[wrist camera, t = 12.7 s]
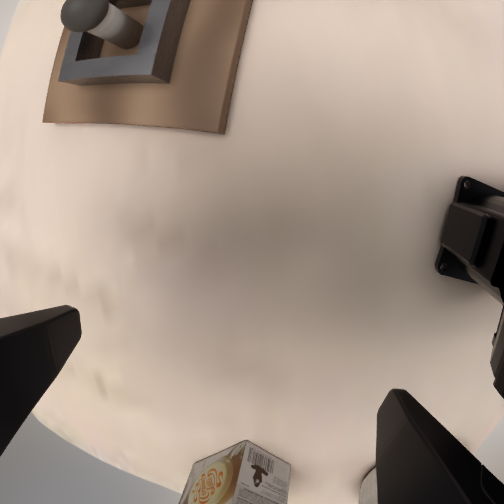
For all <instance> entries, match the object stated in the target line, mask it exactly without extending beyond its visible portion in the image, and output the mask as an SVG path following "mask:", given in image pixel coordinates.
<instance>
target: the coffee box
mask: <svg viewBox="0 0 504 504" xmlns="http://www.w3.org/2000/svg"><path fill="white" fill-rule="evenodd" d="M290 468H291V466H290V464H288V463H286V462H284V461H282V460H281V459H279V458H277V457H275V456H273V455H271V454H270V453H268V452H266V451H264V450H263V449H261V448H259V447H257V446H256V445H254V444H252V443H251V442H249V441H247V440H245V441H243V442H241V443H239V444H237V445H235V446H233V447H230V448H228V449H226V450H224V451H222V452H220V453H217V454H215V455H213V456H211V457H208V458H206V459H204V460H202V461H199V462H197V463H194V464H193V467H192V470H191V472H190V475H189V478H188V480H187V483H186V486H185V488H184V491H183V494H182V497H181V499H180V502H179V504H287V498H288V490H289V479H290Z"/></svg>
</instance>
